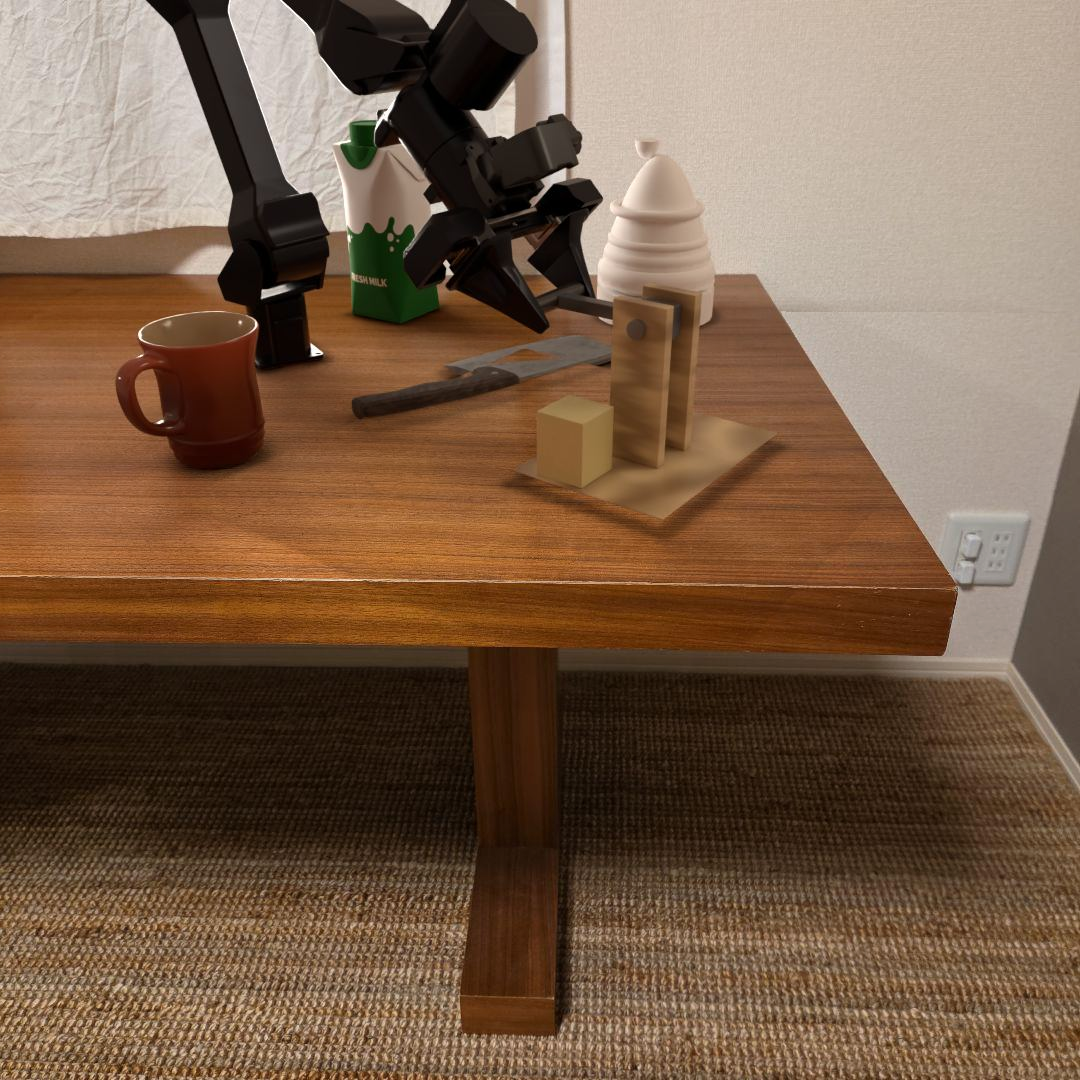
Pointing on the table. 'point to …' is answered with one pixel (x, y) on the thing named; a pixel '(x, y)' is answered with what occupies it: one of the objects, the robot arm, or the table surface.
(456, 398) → the cleaver
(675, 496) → the wooden stand
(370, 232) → the milk carton
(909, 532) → the table surface
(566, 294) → the dark grey t-shaped bar
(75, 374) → the table surface
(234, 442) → the mug
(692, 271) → the honey pot
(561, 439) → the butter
